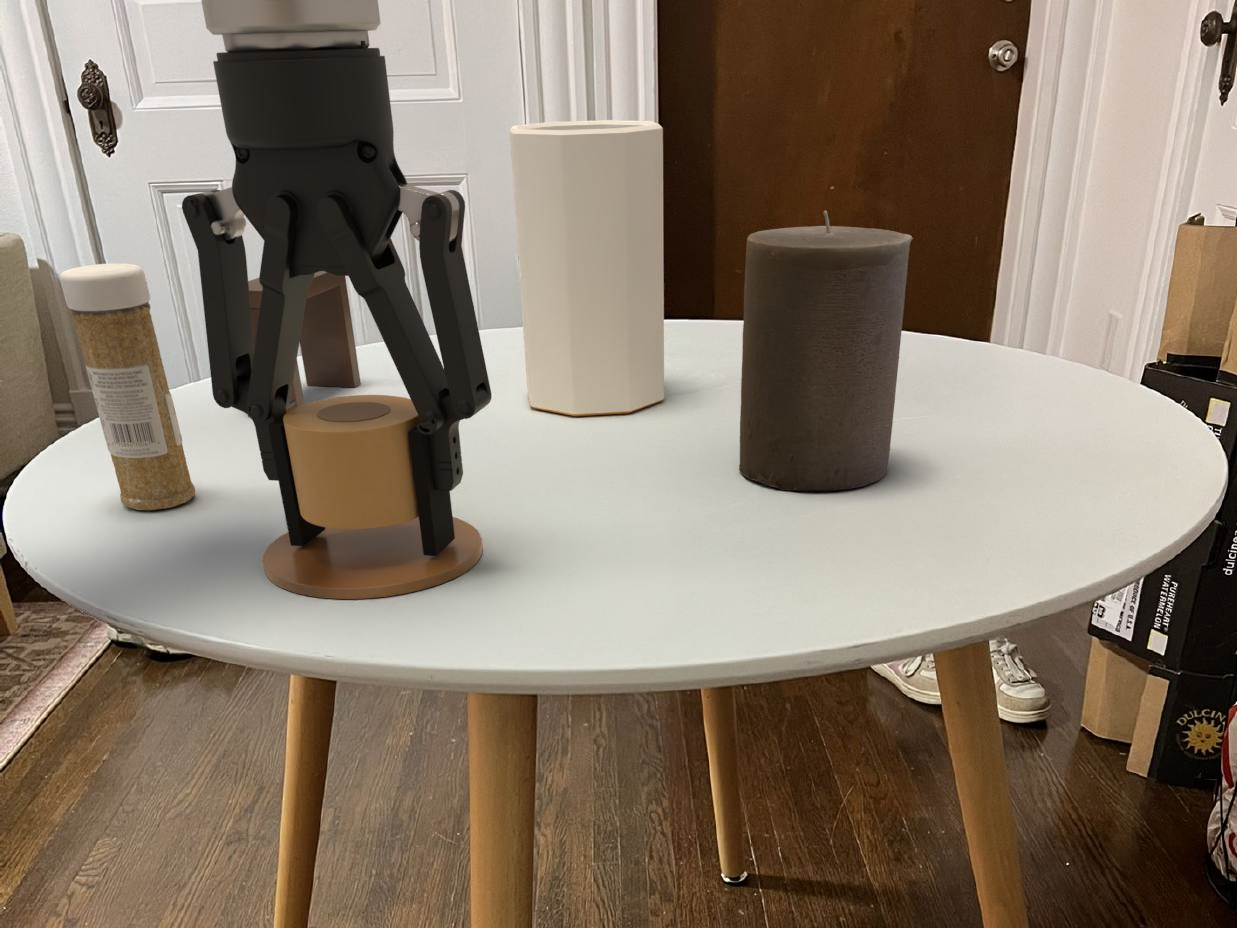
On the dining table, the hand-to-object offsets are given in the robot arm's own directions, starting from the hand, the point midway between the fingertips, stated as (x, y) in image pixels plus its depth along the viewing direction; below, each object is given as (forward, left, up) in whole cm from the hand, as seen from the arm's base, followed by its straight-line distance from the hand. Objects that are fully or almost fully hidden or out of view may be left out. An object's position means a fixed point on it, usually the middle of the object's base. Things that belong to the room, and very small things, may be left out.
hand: (373, 541), depth 65 cm
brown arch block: (-20, +31, -1) cm, 37 cm away
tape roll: (0, 0, +2) cm, 2 cm away
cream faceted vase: (+3, +35, -1) cm, 35 cm away
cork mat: (0, 0, -1) cm, 1 cm away
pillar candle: (+22, +20, -1) cm, 30 cm away
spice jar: (-18, +6, -1) cm, 19 cm away
